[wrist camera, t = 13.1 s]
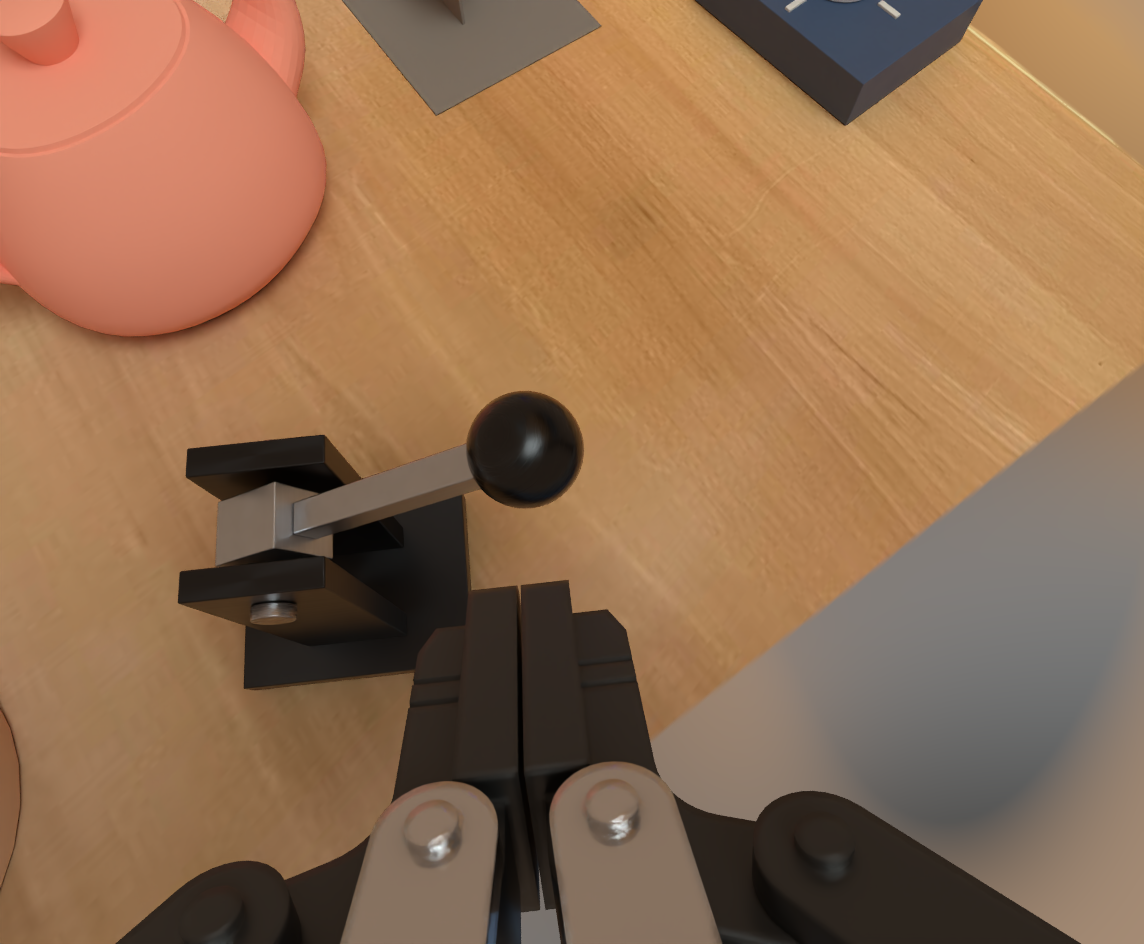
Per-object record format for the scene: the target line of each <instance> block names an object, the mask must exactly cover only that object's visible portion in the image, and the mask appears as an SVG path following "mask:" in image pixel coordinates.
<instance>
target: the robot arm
mask: <svg viewBox="0 0 1144 944" xmlns="http://www.w3.org/2000/svg"><path fill="white" fill-rule="evenodd" d="M413 681H414V685H412V691H411V697H410V708H408V714H407V720H406V726H405V732H404V737H403V743H402V749H401V755H400V761H399V766H398V772H397V778H396V784H395V790H394V795H393V799H392V802H391V805H390V806H389V807H388V808H387V809H386V810H385V811H384V812H383V813H382V815H381V816H380V817H379V819H378V820H377V822H376V824H375V826H374V827H373V830H372V833H371V834H370V835H369V836H368V837H367V838H366V839H365V840H364V841H363V842H362V843H360V844H359V845H358V846H356V847H355V848H354V849H352V850H351V851H349V852H348V853H346V854H344V855H343V856H341V857H339V858H337V859H334V860H332V861H330V862H328V863H326V864H323V865H321V866H318V867H316V868H313V869H311V870H309V871H306V872H304V873H301V874H299V875H296V876H294V877H292V878H289V879H287V880H284V879H283V877H282V876H281V874H280V873H279V872H278V871H276V870H275V869H274V868H272V867H271V866H269V865H267V864H264V863H260V862H255V861H238V862H232V863H228V864H224V865H221V866H218V867H215V868H212V869H210V870H208V871H206V872H204V873H202V874H200V875H198V876H197V877H195V878H194V879H192V880H190V881H189V882H187V883H186V884H185V885H184V886H182V887H181V888H180V889H178V890H177V891H176V892H175V893H174V894H172V895H171V896H170V897H169V898H168V899H167V900H166V901H164V902H163V903H162V904H161V905H160V906H159V907H157V908H156V909H155V910H154V911H153V912H152V913H150V914H149V915H148V916H147V917H146V918H145V919H144V920H142V921H141V922H140V923H139V924H138V925H137V926H135V927H134V928H133V929H132V930H131V931H130V932H128V933H127V934H126V935H125V936H124V937H123V938H122V939H120V940H119V941H118V942H117V943H116V944H521V912H529V911H537V910H540V895H539V894H540V893H539V871H540V877H541V884H542V890H543V896H544V902H545V908H546V910H548V909H556V913H557V919H558V926H559V932H560V940H561V944H1081V943H1079V942H1077V941H1076V940H1074V939H1073V938H1071V937H1069V936H1068V935H1066V934H1065V933H1063V932H1061V931H1060V930H1058V929H1057V928H1055V927H1053V926H1052V925H1050V924H1049V923H1047V922H1045V921H1044V920H1042V919H1040V918H1039V917H1037V916H1036V915H1034V914H1033V913H1031V912H1029V911H1028V910H1026V909H1025V908H1023V907H1021V906H1020V905H1018V904H1016V903H1015V902H1013V901H1012V900H1010V899H1009V898H1007V897H1005V896H1004V895H1002V894H1000V893H999V892H997V891H996V890H994V889H992V888H991V887H989V886H987V885H986V884H984V883H983V882H981V881H980V880H978V879H976V878H975V877H973V876H972V875H970V874H968V873H967V872H965V871H964V870H962V869H960V868H959V867H957V866H955V865H954V864H952V863H951V862H949V861H947V860H946V859H944V858H943V857H941V856H939V855H938V854H936V853H935V852H933V851H931V850H930V849H928V848H927V847H925V846H923V845H922V844H920V843H919V842H917V841H915V840H913V839H912V838H911V837H909V836H907V835H906V834H904V833H903V832H901V831H899V830H898V829H896V828H895V827H893V826H891V825H890V824H888V823H886V822H885V821H883V820H882V819H880V818H878V817H877V816H875V815H874V814H872V813H870V812H869V811H867V810H866V809H864V808H862V807H861V806H859V805H857V804H855V803H853V802H852V801H850V800H848V799H845V798H843V797H840V796H837V795H834V794H829V793H826V792H817V791H801V792H795V793H791V794H788V795H785V796H782V797H780V798H778V799H776V800H774V801H773V802H771V803H770V804H769V805H768V806H767V807H765V809H764V810H763V811H762V812H761V814H760V815H759V817H758V819H757V821H756V822H755V821H749V820H744V819H738V818H733V817H727V816H721V815H716V814H712V813H708V812H705V811H703V810H700V809H697V808H695V807H693V806H691V805H689V804H687V803H686V802H684V801H683V800H681V799H680V798H678V797H677V796H676V795H675V794H674V793H673V792H672V791H671V790H670V789H669V787H668V786H667V784H666V783H665V782H664V781H663V780H662V779H661V777H660V775H659V773H658V772H657V768H656V765H655V762H654V758H653V753H652V748H651V743H650V739H649V734H648V729H647V725H646V720H645V716H644V711H643V706H642V702H641V697H640V692H639V688H638V683H637V680H636V674H635V669H634V665H633V660H632V655H631V651H630V646H629V641H628V637H627V632H626V629H625V628H624V627H623V626H622V625H621V624H620V623H619V622H618V621H617V620H616V618H615V617H614V616H613V615H612V614H611V613H610V612H609V611H608V610H598V611H590V612H581V613H572V606H571V597H570V589H569V581H568V580H563V581H554V582H545V583H537V584H528V585H521V603H520V596H519V590H518V586H508V587H499V588H490V589H481V590H472V591H469V593H468V601H467V612H466V623H465V625H464V626H455V627H446V628H437V629H436V630H435V631H434V632H433V634H432V635H431V636H430V638H429V639H428V640H427V642H426V643H425V644H424V646H423V647H422V649H421V650H420V651H419V653H418V656H417V662H416V668H415V674H414V679H413Z"/></svg>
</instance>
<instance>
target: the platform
mask: <svg viewBox="0 0 1144 944" xmlns="http://www.w3.org/2000/svg"><path fill="white" fill-rule="evenodd" d="M343 2H344V3H345V4H346V5H347V7H348V8H349V9H350V10H351V11H352V13H353V14H354V15H355V16H356V18H357V19H358V20H359V21H360V22H361V24H362V25H363V26H364V27H365V29H366V30H367V31H368V32H369V33H370V35H371V36H372V37H373V38H374V40H375V41H376V42H377V43H378V44H379V46H380V47H381V48H382V49H383V51H384V52H385V53H386V54H387V55H388V57H389V58H390V59H391V60H392V62H393V63H394V64H395V65H396V66H397V68H398V69H399V70H400V71H401V73H402V74H403V75H404V76H405V77H406V79H407V80H408V81H409V82H410V84H411V85H412V86H413V87H414V88H415V90H416V91H417V92H418V93H419V95H420V96H421V97H422V98H423V99H424V101H425V102H426V103H427V104H428V106H429V107H430V108H431V109H432V110H433V112H434V113H435V114H436V115H438V114H440V113H441V112H443V111H445V110H447V109H449V108H451V107H452V106H454V105H456V104H458V103H460V102H462V101H463V100H465V99H467V98H469V97H471V96H473V95H475V94H476V93H478V92H480V91H482V90H484V89H486V88H487V87H489V86H491V85H493V84H495V83H497V82H499V81H500V80H502V79H504V78H506V77H508V76H510V75H511V74H513V73H515V72H517V71H519V70H521V69H523V68H524V67H526V66H528V65H530V64H532V63H534V62H535V61H537V60H539V59H541V58H543V57H545V56H547V55H548V54H550V53H552V52H554V51H556V50H558V49H559V48H561V47H563V46H565V45H567V44H569V43H571V42H572V41H574V40H576V39H578V38H580V37H582V36H583V35H585V34H587V33H589V32H591V31H593V30H594V29H596V28H598V27H600V26H601V25H600V24H599V23H598V22H597V21H596V20H595V19H594V18H593V16H592V15H591V14H590V13H589V12H588V11H587V10H586V9H585V8H584V7H583V6H582V5H581V4H580V3H579V2H578V1H577V0H343Z"/></svg>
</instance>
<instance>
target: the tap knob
mask: <svg viewBox="0 0 1144 944" xmlns="http://www.w3.org/2000/svg"><path fill="white" fill-rule="evenodd" d="M830 1H834V2H843V3H848V2H856V1H860V0H830Z"/></svg>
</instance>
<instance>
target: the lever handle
mask: <svg viewBox="0 0 1144 944" xmlns="http://www.w3.org/2000/svg"><path fill="white" fill-rule="evenodd" d="M583 456H584V444H583V438H582V434H581V431H580V428H579V426H578V424H577V422H576V420H575V418H574V417H573V415H572V414H571V413H570V412H569V410H568V409H567V408H566V407H565V406H564V405H562V404H561V403H560V402H558V401H557V400H555V399H554V398H552V397H550V396H547V395H545V394H542V393H538V392H532V391H517V392H512V393H508V394H505V395H502V396H500V397H498V398H496V399H494V400H493V401H491V402H490V403H489V404H487V405H486V406H485V407H484V408H483V409H482V410H481V411H480V412H479V414H478V415H477V416H476V418H475V419H474V421H473V423H472V425H471V427H470V430H469V433H468V437H467V443H466V444H463V445H460V446H457V447H454V448H451V449H449V450H446V451H443V452H440V453H437V454H434V455H431V456H428V457H425V458H422V459H419V460H416V461H413V462H411V463H408V464H405V465H402V466H399V467H396V468H393V469H390V470H387V471H384V472H381V473H378V474H375V475H372V476H370V477H367V478H364V479H361V480H358V481H355V482H352V483H349V484H346V485H343V486H340V487H337V488H334V489H332V490H329V491H326V492H323V493H316V492H313V491H309V490H305V489H301V488H298V487H294V486H290V485H286V484H282V483H279V482H272V483H269V484H267V485H264V486H261V487H258V488H256V489H253V490H250V491H248V492H245V493H242V494H239V495H237V496H234V497H231V498H228V499H226V500H223V501H220V502H218V516H217V538H216V560H215V566H217V567H225V566H235V565H244V564H253V563H262V562H272V561H281V560H290V559H300V558H309V557H318V556H325V557H327V558H328V559H332V558H333V534H335V533H338V532H341V531H344V530H348V529H351V528H354V527H358V526H361V525H364V524H367V523H371V522H374V521H377V520H381V519H384V518H387V517H390V516H394V515H397V514H400V513H404V512H407V511H410V510H413V509H417V508H420V507H423V506H427V505H430V504H433V503H436V502H440V501H443V500H446V499H450V498H453V497H456V496H459V495H463V494H466V493H469V492H473V491H476V490H479V489H482V490H483V491H484V492H485V493H486V494H487V495H488V496H489V497H491V498H492V499H494V500H495V501H497V502H500V503H502V504H504V505H506V506H510V507H514V508H535V507H540V506H544V505H546V504H549V503H551V502H553V501H555V500H556V499H558V498H559V497H561V496H562V495H563V494H564V493H565V492H567V490H568V489H569V488H570V487H571V486H572V484H573V483H574V481H575V480H576V478H577V476H578V474H579V472H580V469H581V466H582V462H583Z"/></svg>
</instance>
